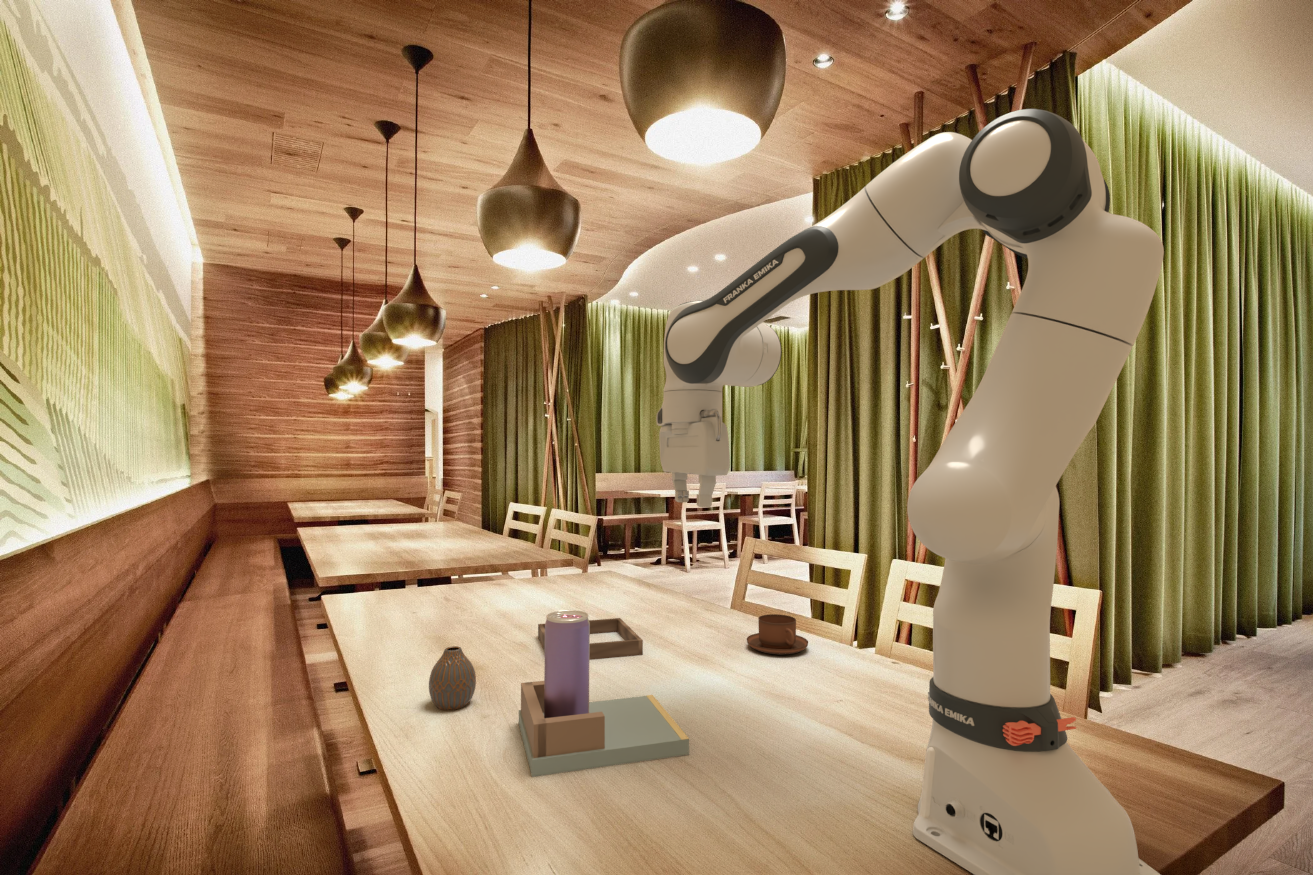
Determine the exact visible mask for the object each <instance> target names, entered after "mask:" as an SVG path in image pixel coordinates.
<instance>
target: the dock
mask: <svg viewBox="0 0 1313 875" xmlns="http://www.w3.org/2000/svg"><path fill="white" fill-rule="evenodd" d="M518 727H519V730H520V735H521V738H522V739H521V740H522V742H523V746H524V751H525V755H526V759H527V762H528V767H529V770H530V775H531V777H532V778H534V777H543V776H549V775H556V774H561V773H571V772H576V771H583V770H591V769H597V768H605V767H612V766H619V765H624V764H625V765H626V764H633V763H640V761H641V762H646V761H647V762H648V761H655V760H663V759H668V758H674V757H675V756H676V757H681V756H688V755H690V738H689V737H688V735H686V733H685V732H684V731H683V729H682V728H681V727H680V726H679V725H678V723H677V722H676V721H675V720H674V719H673V718H672V716H671V715H670V714H669V713H668V712H667V710H666V709H665V708H664V707H663V706H662V704H661V703H660V702H659V701H658V700H657V699H656V697H655V695H653V694H647V695H643V696H635V697H634V696H633V697H624V698H623V697H622V698H616V699H614V698H613V699H606V700H599V701H598V700H597V701H589V713H586V714H578V715H569V716H561V717H552V718H544V680H537V681H528V682H521V683H520V709H518Z"/></svg>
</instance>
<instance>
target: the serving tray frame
mask: <svg viewBox="0 0 1313 875" xmlns="http://www.w3.org/2000/svg"><path fill="white" fill-rule="evenodd" d="M589 622H590V635H596V634H611V633H612V634H613V633H617V634H618V635H619V636H620V637H621V638H622V639H623V640H617V641H616V640H615V641H602V642H593V643H592V642H591V643H590V653H589V661H592V660H593V661H594V660H603V659H615V658H627V657H638V656H643V655H644V654H643V652H644V651H643V650H644V647H643V646H644V645H643V644H644V640H643V639H642V638H641V637H640V636H639V635H638V633H636V632H635V630H633V629H632V628H631V627H630V626H629V625H628V624H627V623H626V622H625V621H624V620H623V618H620V617H616V618H613V617H612V618H600V619H590V620H589ZM537 638H538V640H539V642H540V644H541V646H542V649H543V651H544V652H545V623H538V625H537Z"/></svg>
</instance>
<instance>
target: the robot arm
mask: <svg viewBox="0 0 1313 875" xmlns="http://www.w3.org/2000/svg"><path fill="white" fill-rule="evenodd" d="M1110 204H1111V194H1110V190H1109V186H1108V184H1107V182H1106V180H1105V178H1104V177H1103V173H1102V170H1101V166H1100V163H1099V160H1098V158H1097V157H1096V154H1095V153H1094V152H1093V150H1092V148H1091V147H1090V146H1089V145H1088V144H1087V143H1086V141H1085V139H1083V138H1082V136H1081V134H1080V132H1079V131H1078V129H1077V128H1076V127H1075V126H1074V124H1072V123H1071V122H1070V121H1069V120H1067V119H1065V118H1063V117H1062V116H1060V115H1059V114H1056V113H1053V112H1051V111H1048V110H1044V109H1037V108H1026V109H1019V110H1014V111H1011V112H1009V113H1005V114H1003V115H1001V116H999V117H996V118H995V119H993V120H991V122H990V123H988V124H987V125H986V126H984V127H983V128H982V129H981V130H980V131H978V133H977V134H975V136H974V137H973V139H971V138H969V137H967V136H966V135H963V134H961V133H957V132H953V131H946V132H945V131H944V132H940V133H937V134H934V135H933V136H930V137H929V138H928V139H926V140H924V141H923V142H921V143H920V144H918V145H916V146H915V147H914V148H912V149H910V150H909V151H907V153H905V154H903V155H902V156H900V157H899V158H898V159H897V160H895V161H894V162H892V163H891V164H889V166H888V167H886V168H885V169H884V170H882V171H881V172H880V173H879V174H878V175H876V176H875V177H874V178H872V180H871V181H870V182H868V183H867V184H866V185H865V186H864V187H863V188H862V189H861V190H860V191H858V192H857V193H856V194H855V195H854V196H853V197H851V198H850V199H849V200H847V201H846V202H845V203H844V204H842V205H841V206H840V207H839V208H837V209H836V210H835V211H833V212H832V213H830V214H829V215H827V216H826V217H825V218H823V219H822V220H820V221H819V222H816V223H814V224H813V225H812V226H810V227H807V228H805V229H804V230H802V231H800V232H798V233H797V234H795V235H794V236H791V237H789V239H787V240H785V241H784V242H783V243H781V244H780V245H778V246H776V248H774V249H773V250H772V251H770V252H769V253H768V254H766V255H765V256H763V257H762V258H761V259H760V260H758V261H757V262H755V263H754V264H753V265H752V266H751V267H750V268H748V269H747V270H746V271H744V272H743V273H742V274H740V275H739V276H738V277H737V278H735V279H734V280H733V281H732V282H730V283H728V285H726V286H725V287H724V288H722V289H721V290H719V291H718V292H717V293H716V294H714V295H712V296H711V297H708V298H707V299H705V300H695V301H688V302H686V301H685V302H683V303H680V304H679V305H677V306H675V307H673V309H672V310H671V311H670V312H669V314H668V316H667V319H666V320H667V321H666V324H665V328H664V338H663V366H664V370H665V383H664V384H665V385H664V387H663V401H662V405H661V407H660V408H659V410H658V411H657V413H656V417H655V418H656V419H655V420H656V425H657V426H658V427H660V428H659V433H658V434H659V458H660V465H661V468H662V471H663V472H664V473H666V472H667V473H671V480H672V481H671V482H672V484H673V485H672V486H673V489H674V500H675V502H677V503H688V502H689V500H690V497H689V496H690V491H689V490H688V486H687V480H688V475H695V476H697V475H698V483H699V490H698V493H697V494H696V506H697V507H699V508H711V507H712V506H713V494H714V490H715V488H716V483H717V476H718V477H719V476H722V477H723V476H727V475H728V473H729V470H730V465H731V464H730V463H731V460H730V459H731V458H730V443H729V441H730V440H729V433H728V427H727V425H726V423H725V422H723V387H724V386H728V387H729V386H730V387H740V388H741V387H742V388H753V387H757V386H761V385H764V384H766V383H768V382H769V381H770V380H771V379H773V377H774V376H775V374H776V372H777V370H778V369H779V367H780V364H781V360H782V352H783V351H782V344H781V340H780V337H779V335H778V334H777V332H776V331H775V329H774V328H772V327H771V326H770V325H767V324H765V323H764V322H765V321H767V320H768V319H769V318H770V317H772V316H773V315H775V314H776V313H777V312H778V311H781V310H782V309H783V308H784V307H786V306H787V305H788V304H790V303H791V302H795V300H798V299H800V298H802V297H805V296H809V295H812V294H817V293H824V292H829V291H830V292H831V291H866V290H874V289H877V288H880V287H882V286H883V285H886V284H888V283H890V282H892V281H893V280H895V279H896V278H899V277H901V276H902V275H904V274H905V273H906V272H908V271H910V269H912V268H913V267H915V266H916V265H917V264H919V263H920V262H921V261H922V260H923V259H925V258H927V256H928V255H930V254H931V253H932V252H933V251H935V250H936V249H937V248H938V247H939V246H941V245H942V244H943V243H945V242H946V241H948V240H949V239H951V238H952V237H953V236H955V235H957V234H959V233H961V232H963V231H967V230H972V229H973V230H974V229H977V230H983V233H984V235H986V236H987V237H989V238H990V239H992V240H993V241H996V242H997V243H999V244H1000V245H1002V246H1004V247H1005V248H1006V249H1008V250H1009V251H1011V252H1013V254H1016V255H1018V256H1020V257H1023V258H1025V259H1027V263H1028V265H1027V266H1028V267H1027V274H1026V278H1025V281H1024V284H1023V286H1022V289H1021V292H1020V294H1019V296H1018V298H1017V300H1016V302H1015V305H1014V307H1013V309H1012V311H1011V314H1010V315H1009V317H1008V320H1007V322H1006V325H1005V327H1004V329H1003V332H1002V334H1001V336H1000V338H999V341H998V343H997V345H996V347H995V349H994V352H993V354H992V356H991V358H990V361H989V363H988V365H987V367H986V369H985V372H984V374H983V376H982V378H981V381H980V382H979V384H978V385H977V386H978V387H977V388H976V390H975V392H974V393H973V395H972V397H971V398H970V400H969V401H968V403H967V405H966V406H965V408H964V409H963V411H962V412H961V414H960V415H959V416H958V418H957V420H956V421H955V423H954V424H953V426H952V427H951V429H950V431H949V432H948V434H947V435H946V437H945V438H944V440H943V442H942V443H941V445H940V447H939V449H938V451H937V452H936V454H935V456H934V457H933V458H932V461H931V462H930V464H929V465H928V466H927V468H926V469H925V470H924V471H923V472H922V473H921V475H919V477H918V478H917V479H916V481H915V482H913V485H912V487H911V489H910V490H909V491H910V492H909V494H908V499H907V506H906V508H907V510H906V511H907V512H906V513H907V517H908V522H909V525H910V528H911V530H912V531H913V533H914V535H915V537H916V538H917V539H918V540H919V543H921V544H922V545H923V546H924V547H925V548H926V549H927V550H929V551H930V552H932V553H934V554H935V555H937V556H940V557H942V558H944V559H945V560H944V566H943V570H942V576H941V581H940V585H939V589H938V593H937V596H936V598H935V601H934V605H933V609H932V656H933V657H932V658H933V659H932V662H933V663H932V667H933V670H932V672H933V674H932V677H931V678H930V679H929V686H928V687H929V688H928V692H927V699H928V700H927V701H928V714H929V716H930V717H931V718H932V725H931V730H930V735H929V740H928V742H927V746H926V750H925V756H924V757H925V758H924V764H923V766H924V767H923V774H922V785H921V794H920V798H919V799H918V800H919V801H918V803H917V813H918V815H917V816H916V817H915V820H913V821H914V822H913V827H912V828H913V829H912V835H913V837H914V838H916V839H917V840H918V841H920V842H922V843H923V844H925V845H927V846H928V847H930V848H931V849H933V850H934V851H936V852H937V853H939V854H940V855H943V857H946V858H947V859H949V860H950V861H952V862H954V863H956V864H957V865H959V866H960V868H961V867H962V868H963V869H965V870H967V871H968V872H970V873H971V874H973V875H1162V874H1160V872H1158V871H1156V869H1154V868H1152V867H1151V866H1150V865H1148V864H1147V863H1146V862H1145V861H1143V860H1142V859H1140V858H1139V852H1138V845H1137V839H1136V834H1135V830H1134V826H1133V823H1132V821H1131V818H1130V816H1129V814H1128V813H1127V810H1126V809H1125V808H1124V807H1123V806H1122V805H1121V804H1120V803H1119V801H1118V800H1117V799H1115V798H1116V797H1114V796H1113V795H1112V793H1111V792H1110V790H1109V789H1108V788H1107V787H1106V786H1105V785H1104V784H1103V783H1102V782H1101V781H1100V780H1099V779H1098V778H1097V776H1096V775H1095V774H1094V773H1093V772H1092V771H1091V770H1090V768H1089V767H1088V766H1087V765H1086V763H1085V762H1084V761H1083V760H1082V759H1081V757H1080V756H1079V755H1078V754H1077V753H1076V751H1075V750H1073V748H1072V747H1071V745H1069V743H1068V734H1067V732H1066V731H1069V730H1077V727H1076V726H1075V725H1074V726H1073V725H1072V726H1069V725H1071V724H1072V723H1074V722H1075V721H1077V718H1076V717H1074V716H1071V717H1066V718H1062V717H1061V713H1060V710H1059V708H1058V705H1057V702H1056V699H1055V698H1054V695H1053V694H1051V642H1050V641H1051V635H1050V634H1051V631H1050V630H1051V629H1050V628H1051V613H1052V612H1051V610H1052V602H1053V601H1052V600H1053V592H1054V584H1055V574H1056V565H1057V564H1056V562H1057V551H1058V535H1059V533H1058V532H1059V518H1060V517H1059V516H1060V515H1059V514H1060V494H1059V492H1058V491H1059V490H1058V488H1057V484H1058V483H1059V481H1060V479H1061V477H1062V475H1063V474H1064V472H1065V471H1066V469H1067V467H1068V466H1069V465H1070V462H1071V460H1072V459H1073V457H1074V456H1075V454H1076V453H1077V451H1078V449H1079V448H1080V446H1081V445H1082V443H1083V441H1084V440H1085V438H1086V437H1087V435H1088V434H1089V433H1090V431H1091V429H1093V427H1094V426H1095V424H1096V422H1097V421H1098V418H1099V416H1100V414H1101V413H1102V410H1103V408H1104V406H1105V403H1106V402H1107V400H1108V398H1109V396H1110V394H1111V392H1112V389H1113V387H1114V386H1115V384H1116V381H1117V379H1118V378H1119V375H1120V374H1121V371H1122V369H1123V368H1124V366H1125V363H1126V361H1127V359H1128V357H1129V355H1130V353H1131V351H1132V349H1133V346H1134V344H1135V343H1136V340H1137V339H1138V336H1139V334H1140V331H1141V330H1142V327H1143V325H1144V323H1145V319H1146V317H1147V315H1148V312H1149V309H1150V307H1151V303H1152V301H1153V297H1154V295H1155V291H1156V289H1157V285H1158V280H1159V278H1160V274H1161V270H1162V265H1163V263H1164V262H1163V261H1164V255H1165V251H1164V250H1165V249H1164V245H1163V242H1162V240H1161V238H1160V237H1159V235H1158V233H1156V231H1154V230H1153V229H1152V228H1150V226H1148V225H1146V224H1145V223H1143V222H1141V221H1140V220H1138V219H1134V218H1132V217H1130V216H1125V215H1120V214H1115V213H1110V207H1111V205H1110ZM1067 725H1068V726H1067Z"/></svg>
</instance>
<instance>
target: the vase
mask: <svg viewBox="0 0 1313 875" xmlns="http://www.w3.org/2000/svg"><path fill="white" fill-rule="evenodd" d="M476 675H477V674H476V671H475V668H474V665H473V664H472V662H471V661H470V659H469V658H468V657H467V656H466V655H465V653H464V651H463V649H462V647H461V646H454V645H453V646H448V647H445V648H444V650H443V653H442V655H441V656H440V658H439V659H438V660H437V661H436V663H435V664H434V666H433V667H432V669H431V671H430V675H429V679H428V693H429V696H430V699H431V702H432V703H433V705H434V706H436V707H437V708H438V709H439V710H443V711H455V710H460V709H462V708H464V707H465V706H467V705H468V704H469V703H470V701H471V700H472V698H473V696H474V694H475V690H476V686H477V685H476V684H477V676H476Z"/></svg>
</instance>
